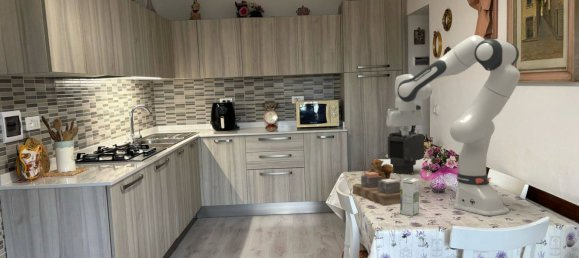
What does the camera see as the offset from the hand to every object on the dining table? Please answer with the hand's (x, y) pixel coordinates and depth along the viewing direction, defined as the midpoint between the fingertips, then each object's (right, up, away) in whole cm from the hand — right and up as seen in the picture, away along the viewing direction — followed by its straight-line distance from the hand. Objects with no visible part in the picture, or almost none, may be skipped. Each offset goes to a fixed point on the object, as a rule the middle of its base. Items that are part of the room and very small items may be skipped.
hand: (405, 135), depth 217 cm
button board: (-14, -30, -7) cm, 33 cm away
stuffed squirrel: (-7, -26, +26) cm, 37 cm away
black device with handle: (+13, -24, +49) cm, 56 cm away
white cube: (-11, -26, -14) cm, 31 cm away
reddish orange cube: (-17, -24, -2) cm, 29 cm away
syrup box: (-7, -32, -35) cm, 48 cm away
